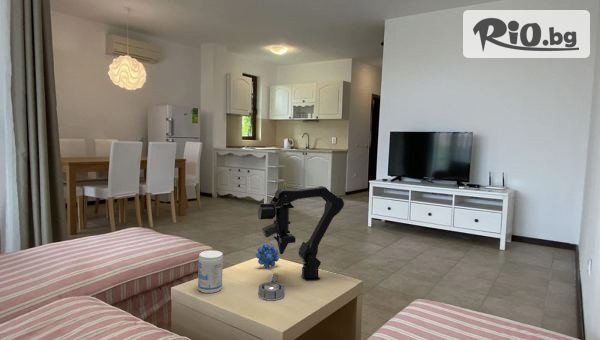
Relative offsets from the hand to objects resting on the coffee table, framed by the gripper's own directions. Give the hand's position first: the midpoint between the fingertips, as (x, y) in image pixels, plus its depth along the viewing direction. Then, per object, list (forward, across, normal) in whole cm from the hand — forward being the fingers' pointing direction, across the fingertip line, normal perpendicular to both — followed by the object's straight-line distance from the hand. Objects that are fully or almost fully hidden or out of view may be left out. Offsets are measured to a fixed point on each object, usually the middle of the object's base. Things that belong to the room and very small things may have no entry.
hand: (281, 254), depth 161 cm
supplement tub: (+12, 0, -30) cm, 32 cm away
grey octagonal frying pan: (+11, +9, -6) cm, 16 cm away
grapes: (+12, -17, -1) cm, 21 cm away
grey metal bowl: (+12, +13, -8) cm, 19 cm away
